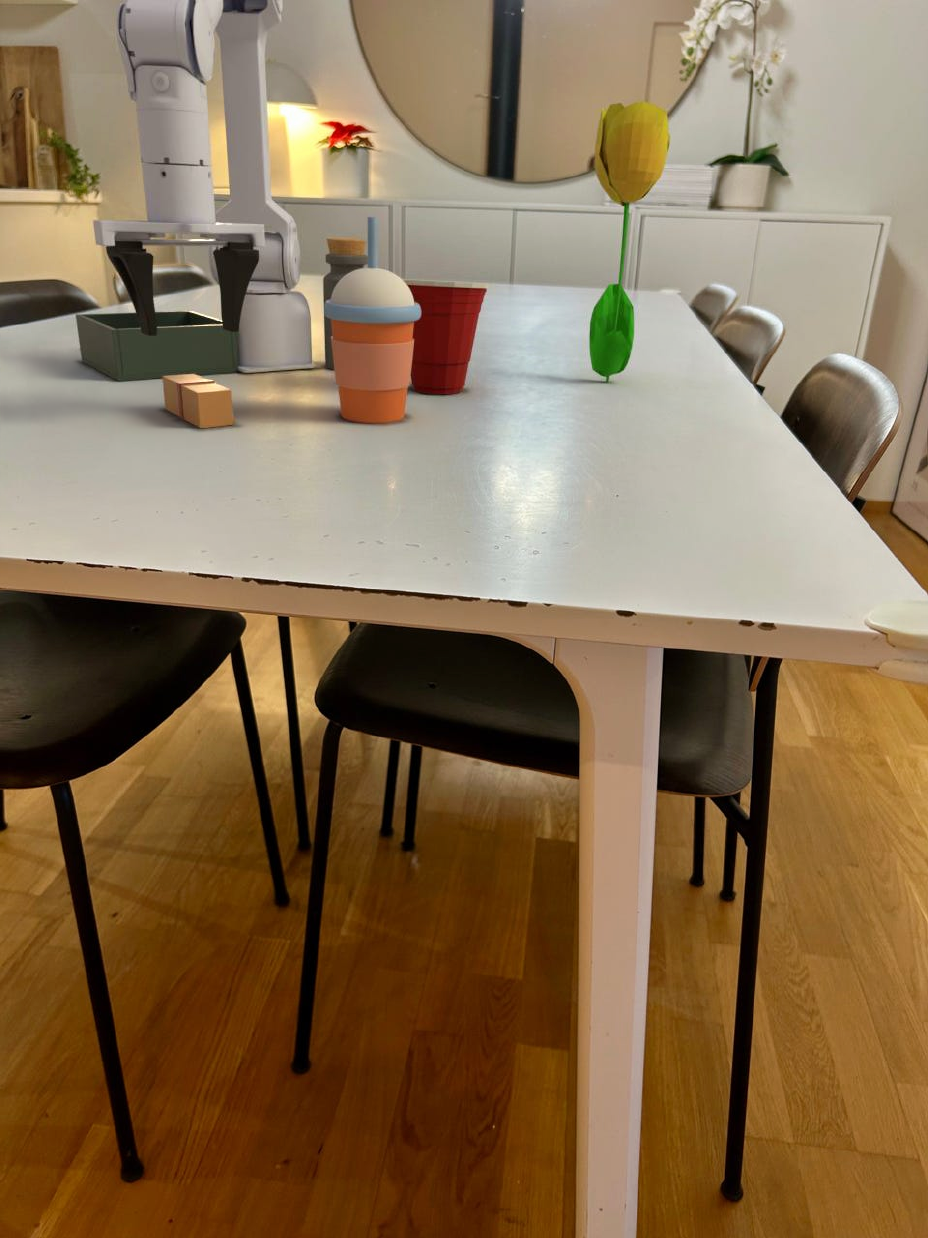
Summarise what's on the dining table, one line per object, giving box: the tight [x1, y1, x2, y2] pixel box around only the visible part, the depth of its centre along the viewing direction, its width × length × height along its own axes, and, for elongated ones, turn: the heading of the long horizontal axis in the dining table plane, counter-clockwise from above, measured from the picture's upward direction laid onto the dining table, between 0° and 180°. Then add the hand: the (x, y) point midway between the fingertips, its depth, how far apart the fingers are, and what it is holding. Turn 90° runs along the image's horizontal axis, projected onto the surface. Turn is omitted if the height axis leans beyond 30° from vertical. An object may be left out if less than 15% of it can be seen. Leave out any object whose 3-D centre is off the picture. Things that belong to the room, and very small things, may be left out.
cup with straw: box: [323, 216, 421, 424], centre depth 85 cm, size 9×9×18 cm
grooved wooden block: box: [161, 374, 234, 429], centre depth 85 cm, size 3×9×3 cm, turn 36°
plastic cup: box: [402, 279, 491, 395], centre depth 100 cm, size 11×11×12 cm
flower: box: [588, 100, 671, 384], centre depth 105 cm, size 9×8×30 cm
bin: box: [75, 310, 240, 382], centre depth 108 cm, size 14×14×6 cm
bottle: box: [322, 237, 368, 370], centre depth 111 cm, size 6×6×15 cm
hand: (191, 332), depth 82 cm, fingers open, 7 cm apart
